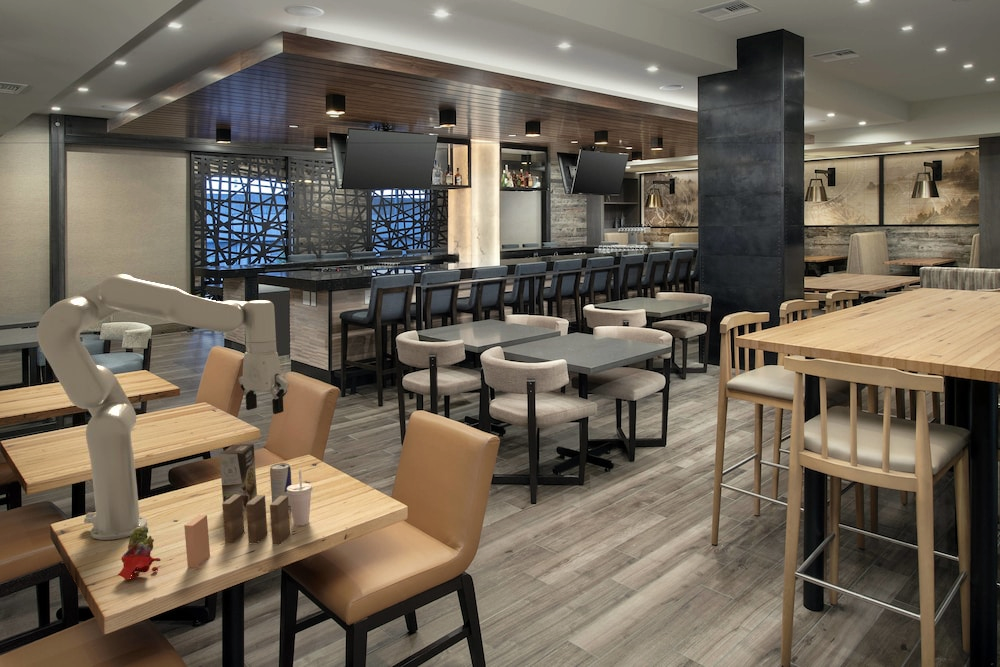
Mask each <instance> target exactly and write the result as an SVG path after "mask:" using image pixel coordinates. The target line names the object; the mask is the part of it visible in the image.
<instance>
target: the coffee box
mask: <svg viewBox="0 0 1000 667" xmlns="http://www.w3.org/2000/svg"><path fill="white" fill-rule="evenodd" d="M254 445H255V444H254V443H243V444H241V443H240V444H232V445H230V446H228V447H227V448H225V449H224V450H223V451H222V452H220V453H219V464H220V475H221V477H220V479H221V490H222V491H221V492H222V493H221V494H222V503H224V502H225V501H226V500H228V499H229V498H230V497H232V496H233V495H234V494H237V495H242V502H243V511H246V504H247V503H248V502H249V501H251V500H252V499H253V498H254V497H255V496H257V495H258V491H257V490H258V489H257V475H256V461H255V459H256V458H255V446H254Z"/></svg>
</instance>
